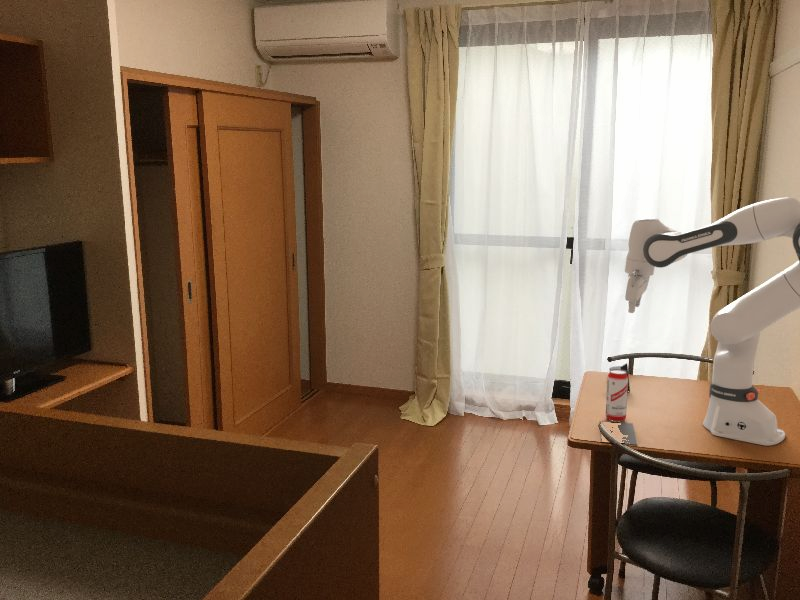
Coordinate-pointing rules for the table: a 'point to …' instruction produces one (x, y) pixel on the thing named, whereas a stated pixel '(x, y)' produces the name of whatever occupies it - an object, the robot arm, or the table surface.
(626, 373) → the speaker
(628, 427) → the mat
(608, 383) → the beer can
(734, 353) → the robot arm
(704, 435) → the table surface
